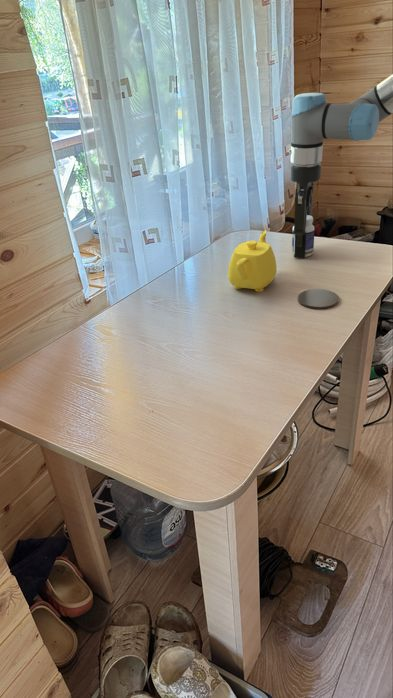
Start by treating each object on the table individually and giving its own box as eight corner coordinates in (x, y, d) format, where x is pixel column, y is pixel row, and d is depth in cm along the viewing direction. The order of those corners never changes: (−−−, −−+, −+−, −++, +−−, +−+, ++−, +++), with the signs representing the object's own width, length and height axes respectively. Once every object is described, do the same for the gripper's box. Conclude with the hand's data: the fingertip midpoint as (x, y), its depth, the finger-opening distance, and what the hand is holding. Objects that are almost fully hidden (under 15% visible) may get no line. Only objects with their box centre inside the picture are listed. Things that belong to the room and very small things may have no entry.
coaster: (340, 292, 118) (340, 290, 118) (336, 311, 111) (336, 308, 110) (301, 289, 121) (301, 287, 120) (294, 307, 114) (294, 304, 113)
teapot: (245, 265, 135) (244, 226, 129) (286, 270, 130) (287, 229, 124) (218, 295, 121) (215, 252, 115) (262, 302, 117) (262, 257, 111)
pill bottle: (317, 253, 138) (319, 217, 132) (302, 259, 135) (303, 222, 130) (302, 247, 142) (304, 212, 137) (287, 253, 139) (288, 217, 134)
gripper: (297, 154, 135) (294, 239, 147) (282, 173, 120) (280, 265, 132) (326, 154, 132) (320, 240, 145) (315, 173, 118) (310, 267, 130)
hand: (301, 252), depth 138 cm, fingers closed on pill bottle, 6 cm apart
